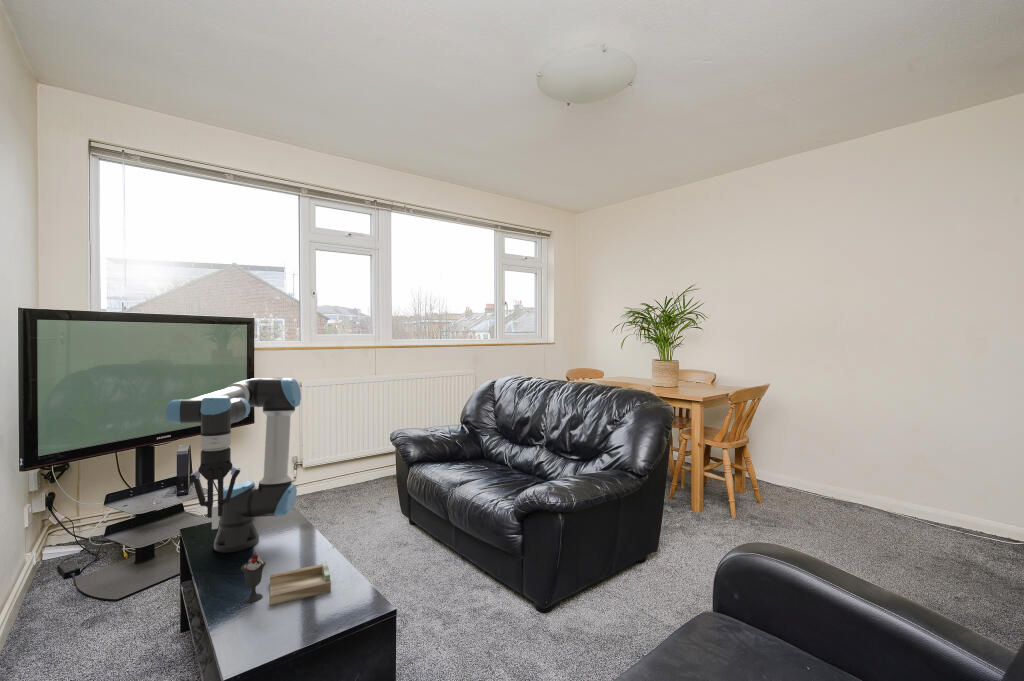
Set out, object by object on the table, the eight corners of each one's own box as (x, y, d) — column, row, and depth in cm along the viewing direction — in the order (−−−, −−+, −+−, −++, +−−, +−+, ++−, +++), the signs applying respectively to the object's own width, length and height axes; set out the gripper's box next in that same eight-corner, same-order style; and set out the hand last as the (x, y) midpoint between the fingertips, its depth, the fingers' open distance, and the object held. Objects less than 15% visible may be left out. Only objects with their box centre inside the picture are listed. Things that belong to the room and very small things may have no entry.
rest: (270, 584, 148) (270, 570, 148) (326, 571, 156) (326, 559, 156) (270, 606, 136) (270, 591, 136) (330, 591, 144) (330, 577, 144)
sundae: (254, 605, 136) (255, 555, 136) (235, 603, 138) (235, 553, 138) (270, 593, 143) (271, 546, 143) (252, 591, 144) (252, 544, 144)
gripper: (187, 453, 129) (186, 536, 129) (240, 448, 135) (239, 527, 135) (191, 447, 136) (190, 527, 136) (241, 443, 142) (241, 519, 142)
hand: (215, 527), depth 135 cm, fingers closed
